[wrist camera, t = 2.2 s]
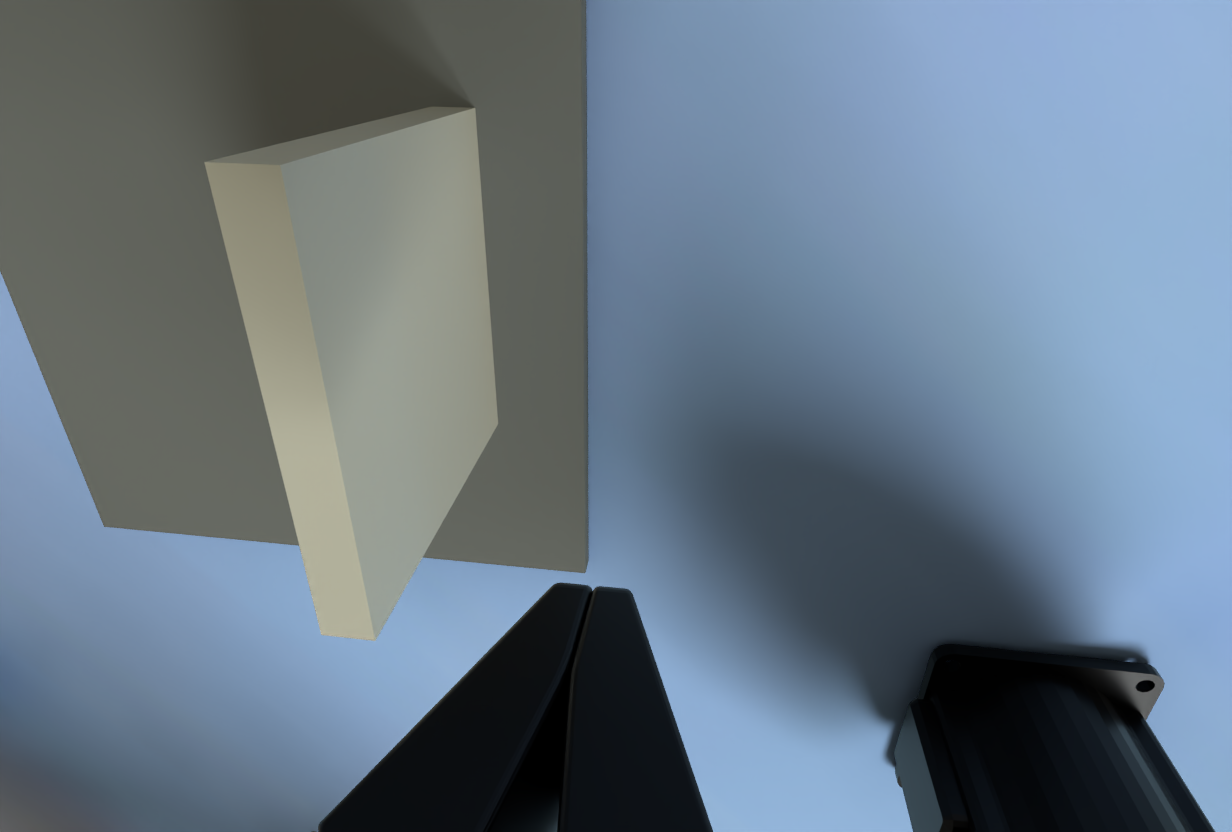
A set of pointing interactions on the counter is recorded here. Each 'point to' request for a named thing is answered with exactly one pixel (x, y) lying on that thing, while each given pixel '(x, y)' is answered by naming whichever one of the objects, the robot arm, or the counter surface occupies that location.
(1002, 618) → the counter surface
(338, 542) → the tile
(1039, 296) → the counter surface
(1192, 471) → the counter surface
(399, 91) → the mat
